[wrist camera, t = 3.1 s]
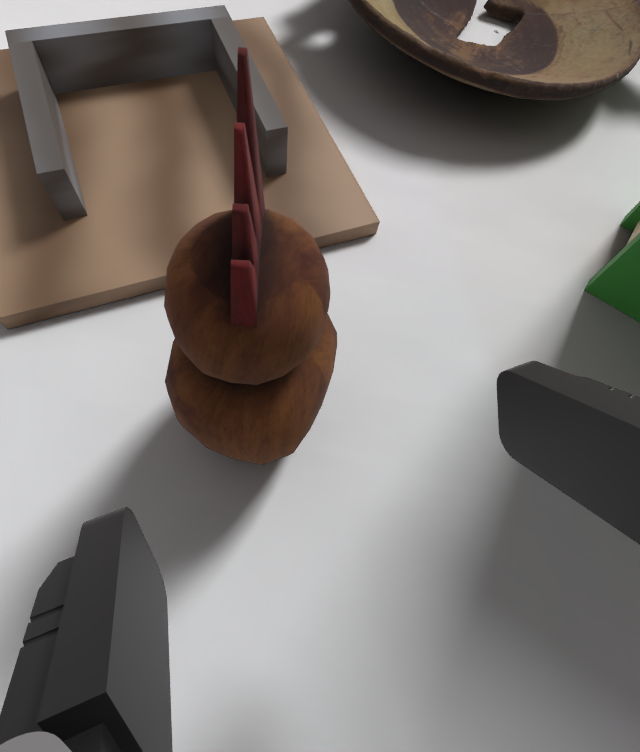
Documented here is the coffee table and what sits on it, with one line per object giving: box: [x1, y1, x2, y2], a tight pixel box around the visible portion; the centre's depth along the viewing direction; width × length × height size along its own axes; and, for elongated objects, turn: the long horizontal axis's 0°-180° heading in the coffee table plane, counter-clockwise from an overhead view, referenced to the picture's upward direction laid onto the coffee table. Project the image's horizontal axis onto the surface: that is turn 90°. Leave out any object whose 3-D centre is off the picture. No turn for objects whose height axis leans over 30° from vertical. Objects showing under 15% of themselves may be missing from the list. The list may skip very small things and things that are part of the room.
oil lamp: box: [349, 0, 640, 100], centre depth 32 cm, size 22×30×8 cm
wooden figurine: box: [164, 47, 337, 464], centre depth 15 cm, size 7×6×15 cm
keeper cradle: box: [0, 5, 380, 329], centre depth 26 cm, size 20×20×4 cm
